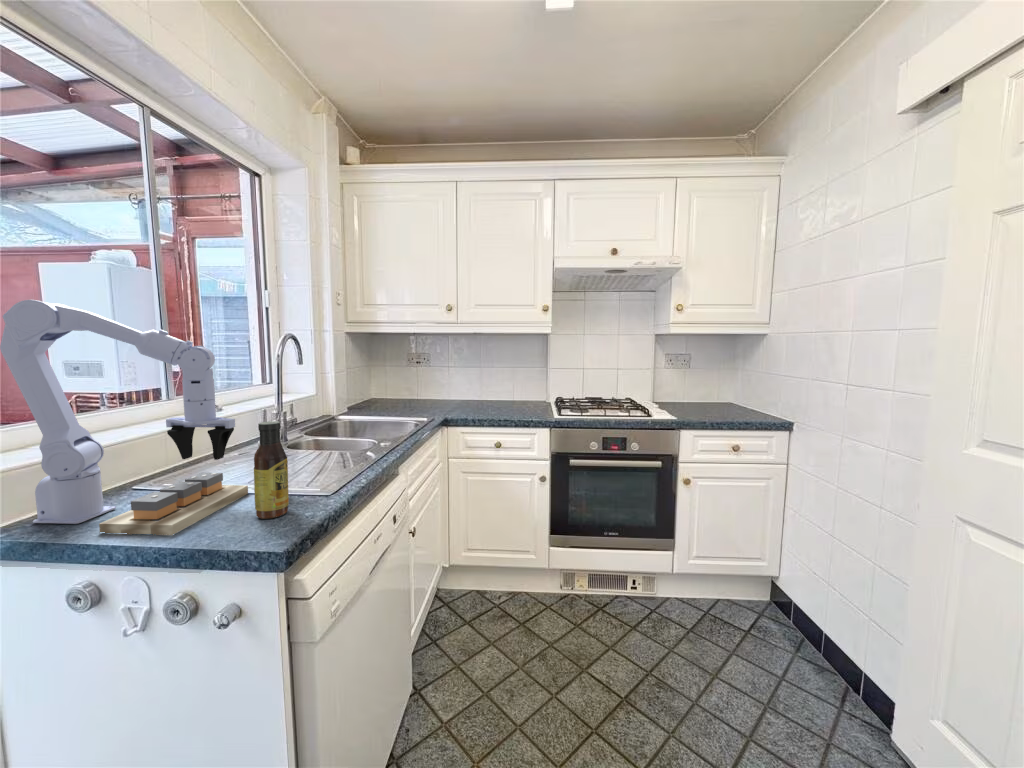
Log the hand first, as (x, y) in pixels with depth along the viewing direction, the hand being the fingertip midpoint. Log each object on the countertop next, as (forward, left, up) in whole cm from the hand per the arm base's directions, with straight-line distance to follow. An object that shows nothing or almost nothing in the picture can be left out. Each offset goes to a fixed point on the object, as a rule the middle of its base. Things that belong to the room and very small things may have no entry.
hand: (203, 458), depth 95 cm
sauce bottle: (+20, -7, -10) cm, 23 cm away
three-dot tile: (0, 0, -8) cm, 8 cm away
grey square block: (0, -13, -8) cm, 15 cm away
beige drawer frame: (0, -6, -10) cm, 12 cm away
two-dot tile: (0, -7, -8) cm, 10 cm away
